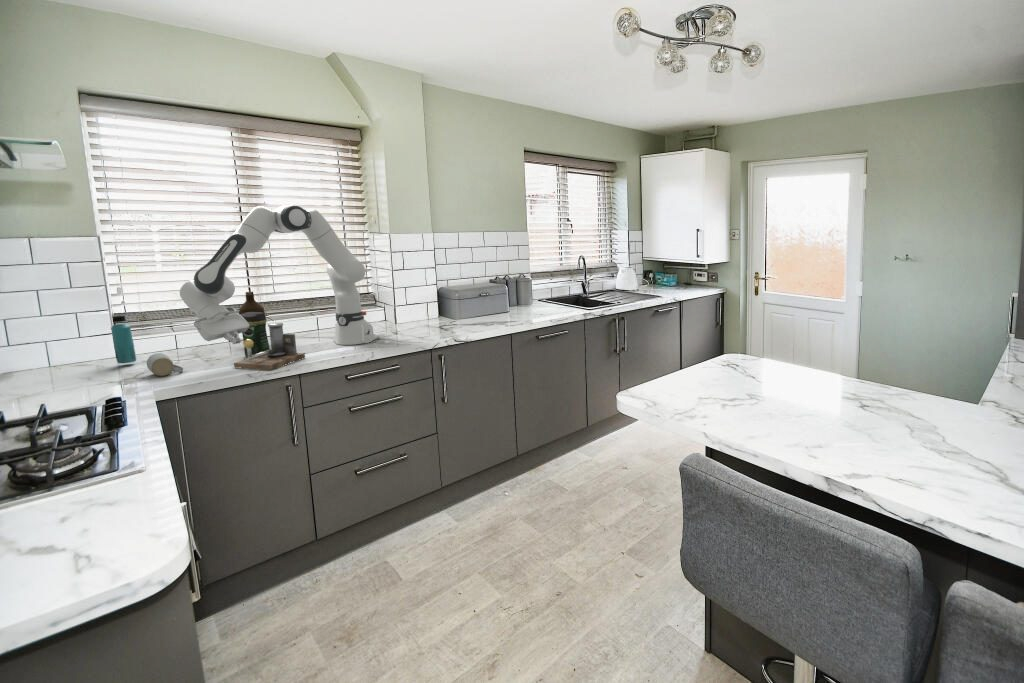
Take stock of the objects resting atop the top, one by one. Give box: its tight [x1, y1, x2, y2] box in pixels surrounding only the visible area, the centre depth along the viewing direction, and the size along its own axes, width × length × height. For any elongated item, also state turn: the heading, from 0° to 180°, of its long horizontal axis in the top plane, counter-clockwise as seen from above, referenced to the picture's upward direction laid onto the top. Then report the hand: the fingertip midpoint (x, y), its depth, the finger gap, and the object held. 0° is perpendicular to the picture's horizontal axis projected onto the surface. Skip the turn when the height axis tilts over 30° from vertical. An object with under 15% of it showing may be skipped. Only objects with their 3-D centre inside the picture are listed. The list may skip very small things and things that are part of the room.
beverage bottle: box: [110, 315, 137, 364], centre depth 210 cm, size 6×7×20 cm
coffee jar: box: [241, 312, 271, 357], centre depth 224 cm, size 10×8×19 cm
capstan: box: [242, 322, 286, 360], centre depth 208 cm, size 20×7×13 cm, turn 164°
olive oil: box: [238, 291, 266, 342], centre depth 241 cm, size 11×11×25 cm
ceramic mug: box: [146, 352, 184, 377], centre depth 197 cm, size 11×8×8 cm
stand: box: [233, 333, 306, 371], centre depth 211 cm, size 20×17×10 cm
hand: (237, 342), depth 203 cm, fingers closed
